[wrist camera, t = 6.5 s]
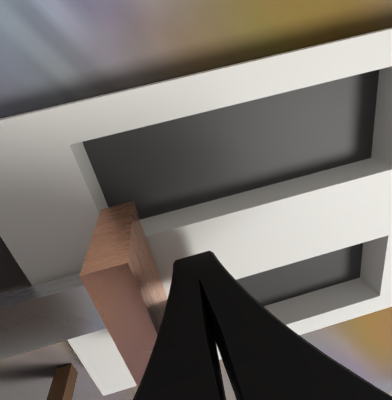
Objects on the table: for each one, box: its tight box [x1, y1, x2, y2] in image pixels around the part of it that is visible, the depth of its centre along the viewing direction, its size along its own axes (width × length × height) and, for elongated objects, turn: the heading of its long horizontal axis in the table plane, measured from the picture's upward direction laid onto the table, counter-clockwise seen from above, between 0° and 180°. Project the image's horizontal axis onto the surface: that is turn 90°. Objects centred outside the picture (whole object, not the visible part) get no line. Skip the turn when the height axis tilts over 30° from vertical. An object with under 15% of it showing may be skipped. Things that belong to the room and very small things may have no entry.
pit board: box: [0, 27, 392, 396], centre depth 11 cm, size 12×16×2 cm
